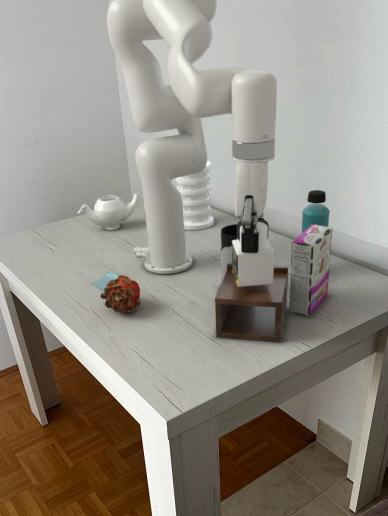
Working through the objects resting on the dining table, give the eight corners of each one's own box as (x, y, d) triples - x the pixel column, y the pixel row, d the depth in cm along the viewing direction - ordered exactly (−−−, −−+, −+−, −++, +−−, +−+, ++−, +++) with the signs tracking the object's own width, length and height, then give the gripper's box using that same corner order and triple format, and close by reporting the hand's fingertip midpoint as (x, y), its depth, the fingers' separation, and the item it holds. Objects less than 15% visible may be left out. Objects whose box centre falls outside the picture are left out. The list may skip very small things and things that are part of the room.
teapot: (77, 228, 170) (72, 199, 165) (138, 217, 176) (135, 188, 171) (84, 238, 163) (79, 208, 158) (147, 226, 169) (144, 196, 164)
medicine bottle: (232, 272, 113) (231, 216, 106) (266, 269, 113) (267, 213, 107) (237, 287, 107) (236, 228, 100) (273, 284, 107) (275, 225, 101)
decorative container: (206, 231, 163) (204, 170, 153) (170, 228, 166) (166, 168, 157) (218, 218, 172) (217, 159, 162) (184, 215, 175) (181, 158, 166)
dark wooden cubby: (216, 337, 112) (214, 292, 106) (228, 305, 123) (227, 263, 118) (280, 342, 109) (282, 296, 103) (286, 309, 120) (288, 266, 115)
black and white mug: (214, 296, 127) (212, 235, 119) (233, 271, 138) (232, 213, 130) (250, 301, 124) (251, 238, 116) (267, 275, 135) (268, 216, 127)
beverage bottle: (325, 277, 132) (332, 196, 122) (297, 276, 134) (302, 195, 123) (325, 266, 138) (332, 187, 127) (298, 265, 139) (303, 187, 128)
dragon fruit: (127, 329, 119) (117, 312, 130) (155, 301, 119) (143, 286, 129) (99, 304, 115) (91, 288, 126) (127, 275, 115) (117, 262, 125)
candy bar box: (307, 291, 127) (311, 223, 118) (327, 295, 124) (334, 226, 116) (287, 312, 119) (290, 241, 110) (309, 317, 117) (314, 245, 108)
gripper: (240, 138, 104) (240, 228, 114) (223, 162, 90) (225, 261, 100) (279, 138, 103) (276, 229, 112) (269, 162, 89) (266, 264, 98)
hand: (252, 243), depth 106 cm, fingers closed on medicine bottle, 6 cm apart
